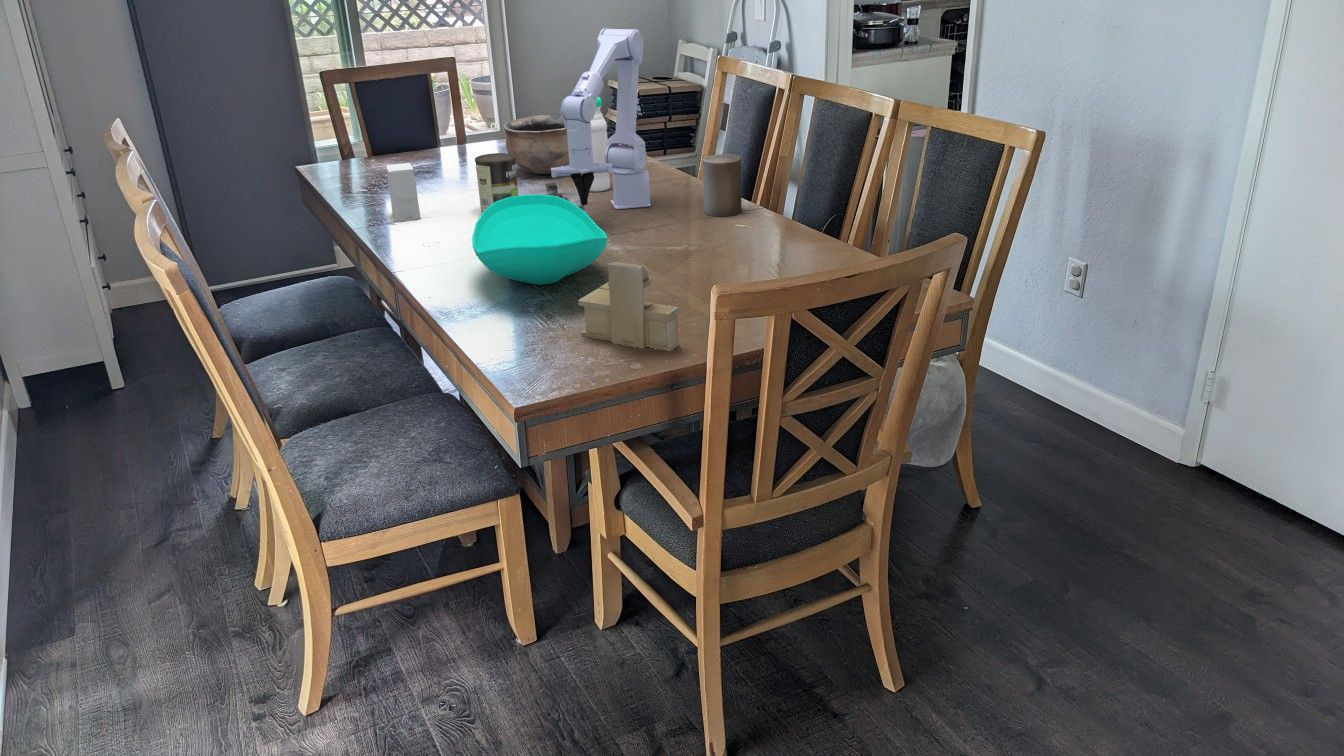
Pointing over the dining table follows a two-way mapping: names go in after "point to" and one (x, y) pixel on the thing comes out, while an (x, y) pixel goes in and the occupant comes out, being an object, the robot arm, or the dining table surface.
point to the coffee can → (496, 178)
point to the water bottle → (599, 148)
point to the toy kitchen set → (629, 311)
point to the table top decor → (536, 238)
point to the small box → (403, 192)
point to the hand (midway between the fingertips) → (584, 203)
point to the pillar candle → (722, 185)
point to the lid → (563, 194)
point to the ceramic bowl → (537, 143)
